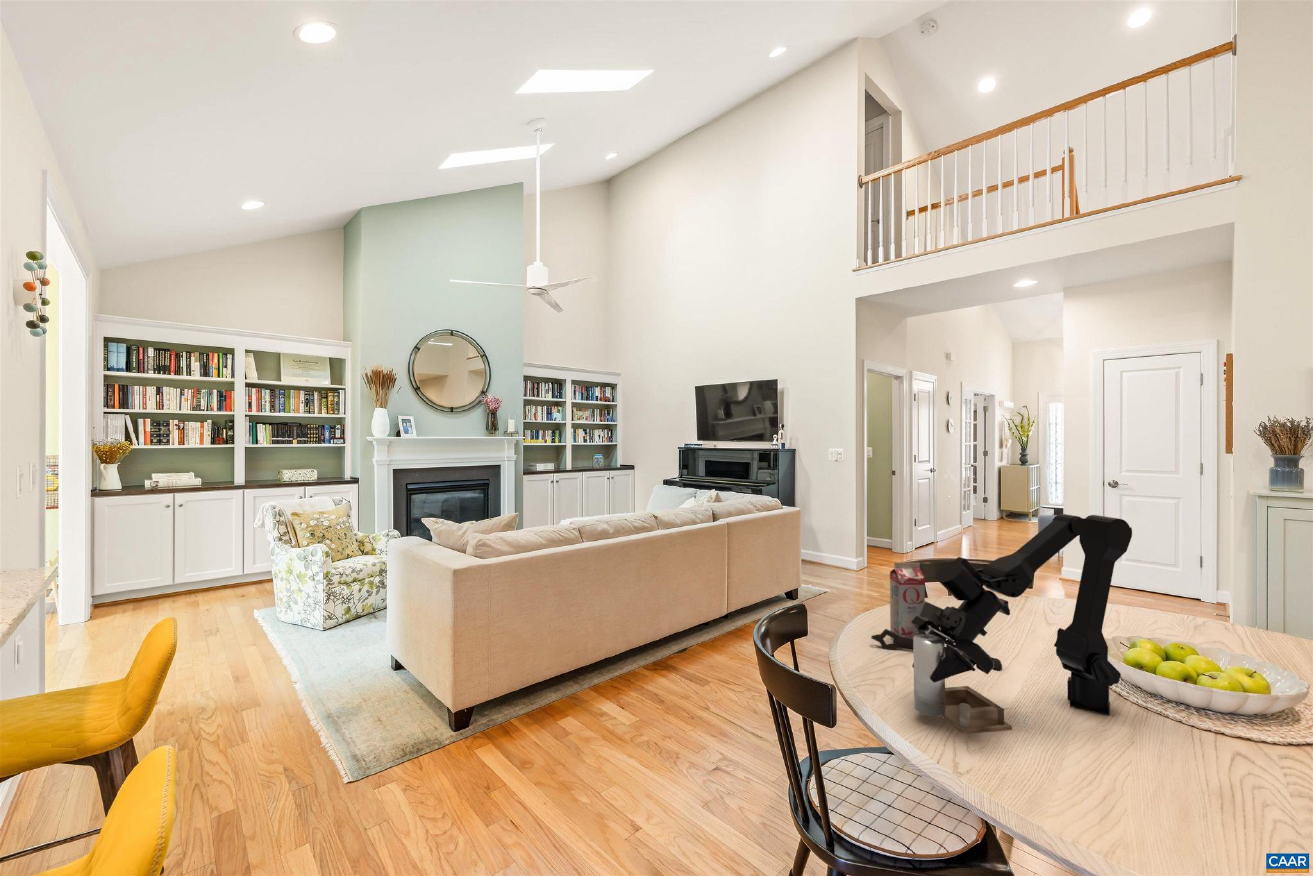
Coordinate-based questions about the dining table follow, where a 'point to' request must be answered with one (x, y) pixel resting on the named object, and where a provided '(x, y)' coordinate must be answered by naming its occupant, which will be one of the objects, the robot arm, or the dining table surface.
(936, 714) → the grey cylinder
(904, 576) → the juice carton
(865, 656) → the dining table surface
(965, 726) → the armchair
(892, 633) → the wrench
